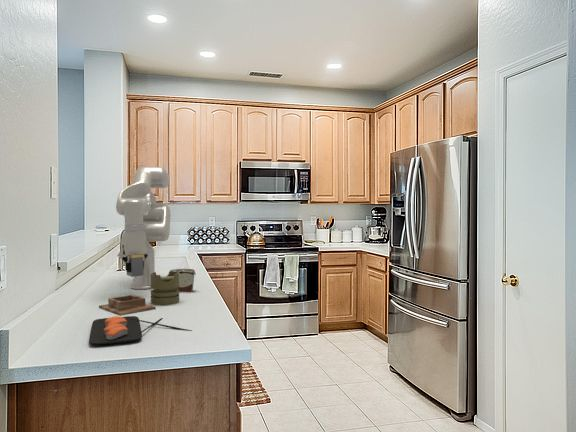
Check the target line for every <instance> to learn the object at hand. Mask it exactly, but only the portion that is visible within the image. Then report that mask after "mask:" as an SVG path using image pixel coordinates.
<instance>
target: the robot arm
mask: <svg viewBox="0 0 576 432" xmlns="http://www.w3.org/2000/svg"><path fill="white" fill-rule="evenodd" d="M169 186H170V174H169V173H168V171H167V170H166V169H165V168H164V167H161V166H141V167H138V168H137V169H136V170H135V174H134V176H133V181H132V184H130V185H128V186H127V187H125V188H123V189H121V191H120V192H119V194H118V196H117V200H116V203H115V209H116V210H115V211H116V213H117V214H118V215H120V216H124V231H123V232H122V235H121V242H120V251H119V252H118V254H117V255H116V256H117V257H118V258H120V259H121V260H122V261H123V262H124V265H125V272H126V273H127V272H131V263H130V259H131V255H140V254H143V275H142V276H135V277H133V278H132V281H133V284H130V289H132V290H152V288H151V273H153V272H156V270H155V262H156V261H155V250H154V248H153V246H152V245H151V243H152V242H166V241H167V240H169V238H170V229H171V208H170V206H169V205H167V204H164V203H157V197H156V195H155V193H153V192H152V190H151V189H166V188H168V187H169Z"/></svg>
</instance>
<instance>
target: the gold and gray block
mask: <svg viewBox="0 0 576 432" xmlns="http://www.w3.org/2000/svg"><path fill="white" fill-rule="evenodd" d="M130 263H131V272H127V271H126V276H128V277H131V278H134V277H135V276H142V275H143V254H140V255H131V259H130Z"/></svg>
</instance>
